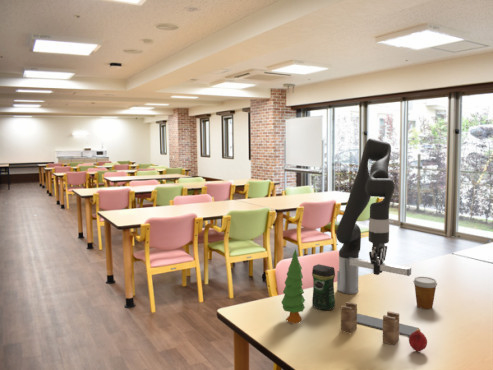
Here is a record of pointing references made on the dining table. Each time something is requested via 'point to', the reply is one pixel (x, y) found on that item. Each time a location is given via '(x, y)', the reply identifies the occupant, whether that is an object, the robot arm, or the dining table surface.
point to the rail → (383, 266)
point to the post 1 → (349, 317)
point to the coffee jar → (323, 287)
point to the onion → (418, 340)
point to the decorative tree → (293, 291)
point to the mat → (379, 324)
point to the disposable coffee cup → (425, 291)
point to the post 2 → (391, 328)
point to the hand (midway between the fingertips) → (377, 273)
